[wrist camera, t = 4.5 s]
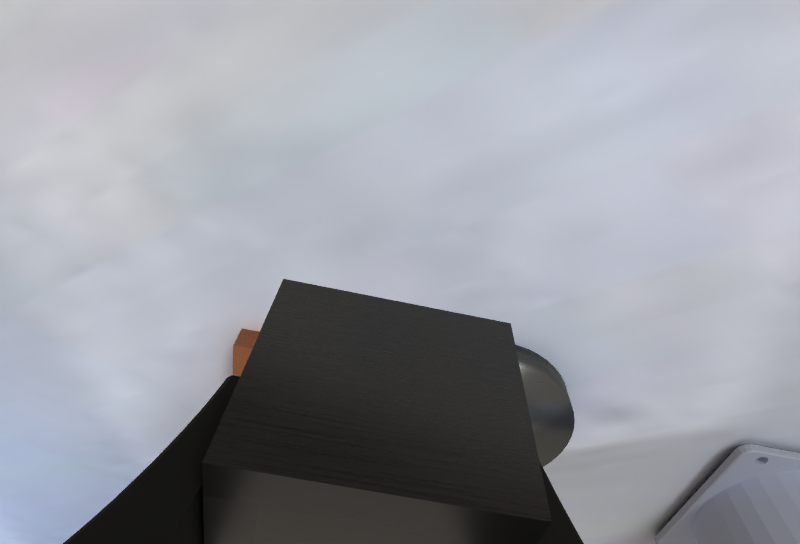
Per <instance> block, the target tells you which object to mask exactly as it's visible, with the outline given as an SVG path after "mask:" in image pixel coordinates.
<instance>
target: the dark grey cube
mask: <svg viewBox="0 0 800 544" xmlns="http://www.w3.org/2000/svg"><path fill="white" fill-rule="evenodd" d="M202 478H203V518H204V544H538V542H539V541H540V539H541V538H542V536H543V535H544V533H545V532H546V530H547V529H548V527H549V526H550V524H551V523H552V519H551V514H550V510H549V505H548V500H547V495H546V490H545V486H544V481H543V476H542V471H541V467H540V462H539V457H538V452H537V447H536V443H535V438H534V433H533V428H532V423H531V419H530V414H529V409H528V404H527V400H526V395H525V390H524V385H523V380H522V376H521V371H520V366H519V361H518V357H517V352H516V347H515V342H514V337H513V333H512V328H511V324H510V323H505V322H500V321H495V320H490V319H485V318H480V317H475V316H470V315H465V314H459V313H454V312H449V311H444V310H439V309H434V308H429V307H424V306H419V305H414V304H409V303H404V302H398V301H393V300H388V299H383V298H378V297H373V296H368V295H363V294H358V293H353V292H348V291H343V290H337V289H332V288H327V287H322V286H317V285H312V284H307V283H302V282H297V281H292V280H287V279H283V281H282V283H281V286H280V288H279V290H278V292H277V295H276V297H275V299H274V301H273V304H272V306H271V308H270V310H269V313H268V315H267V317H266V319H265V322H264V324H263V326H262V328H261V331H260V333H259V335H258V337H257V340H256V342H255V344H254V347H253V349H252V351H251V353H250V356H249V358H248V360H247V362H246V365H245V367H244V369H243V371H242V374H241V376H240V378H239V380H238V383H237V385H236V387H235V389H234V392H233V394H232V396H231V398H230V401H229V403H228V405H227V407H226V410H225V412H224V414H223V416H222V419H221V421H220V423H219V425H218V428H217V430H216V432H215V434H214V437H213V439H212V441H211V444H210V446H209V448H208V450H207V453H206V455H205V457H204V459H203V462H202Z"/></svg>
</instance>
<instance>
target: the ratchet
mask: <svg viewBox="0 0 800 544" xmlns="http://www.w3.org/2000/svg"><path fill="white" fill-rule="evenodd" d="M259 333H260V332H257V331H252V330H247V329H241V331H240V333H239V335H238V338H237V340H236V342H235V344H234V350H233V375H234V376H239V377H240V376H241V374H242V371H243V369H244V367H245V365H246V362H247V360H248V358H249V356H250V353H251V351H252V349H253V347H254V344H255V342H256V340H257V337H258V335H259ZM515 347H516V352H517V357H518V361H519V366H520V371H521V376H522V380H523V385H524V390H525V395H526V400H527V404H528V409H529V414H530V419H531V423H532V428H533V433H534V438H535V443H536V447H537V452H538V457H539V461H540V463H541V465H542V467H543V466H545V465H547V464H548V463H550V462H551V461H552V460H553V459H555V458H556V457H557V456H558V455H559V454H560V453H561V452H562V451H563V449H564V448H565V447H566V445H567V444H568V442H569V440H570V438H571V436H572V433H573V429H574V412H573V409H572V405H571V402H570V399H569V396H568V392H567V389H566V386H565V383H564V381H563V379H562V377H561V375H560V374H559V372H558V371H557V370H556V369H555V367H554V366H553V365H552V364H550V363H549V362H548V361H547V360H546V359H544V358H543V357H541V356H540V355H538V354H536V353H535V352H533V351H531V350H529V349H526V348H523V347H520V346H518V345H515Z"/></svg>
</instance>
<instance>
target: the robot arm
mask: <svg viewBox="0 0 800 544" xmlns="http://www.w3.org/2000/svg"><path fill="white" fill-rule="evenodd" d="M239 378H240V377H239V376H234V375H232V376H230V377H228V378H227V379H226V380H225V381H224V383H223V384H222V385H221V386H220V388H219V389H218V390H217V392H216V393H215V394H214V395H213V396H212V398H211V399H210V400H209V401H208V402H207V404H206V405H205V406H204V407H203V408H202V410H201V411H200V412H199V413H198V414H197V415H196V416H195V417H194V419H193V420H192V421H191V422H190V423H189V424H188V425H187V426H186V428H185V429H184V430H183V431H182V432H181V433H180V434H179V435H178V436H177V437H176V438H175V439H174V440H173V441H172V442H171V443H170V444H169V446H168V447H167V448H166V449H165V450H164V451H163V452H162V453H161V454H160V455H159V456H158V457H157V458H156V459H155V460H154V461H153V462H152V463H151V464H150V465H149V466H148V467H147V468H146V469H145V470H144V471H143V472H142V473H141V474H140V475H139V476H138V477H137V478H136V479H135V480H134V481H132V482H131V483H130V484H129V485H128V486H127V487H126V488H125V489H124V490H123V491H122V492H121V493H120V494H119V495H118V496H117V497H116V498H115V499H114V500H113V501H111V502H110V503H109V504H108V505H107V506H106V507H105V508H104V509H103V510H101V511H100V512H99V513H98V514H97V515H96V516H95V517H94V518H92V519H91V520H90V521H89V522H88V523H87V524H86V525H84V526H83V527H82V528H81V529H80V530H79V531H77V532H76V533H75V534H74V535H73V536H71V537H70V538H69V539H68V540H67V541H66V542H64V543H63V544H204V518H203V478H202V462H203V459H204V457H205V455H206V453H207V450H208V448H209V446H210V444H211V441H212V439H213V437H214V434H215V432H216V430H217V428H218V425H219V423H220V421H221V419H222V416H223V414H224V412H225V410H226V407H227V405H228V403H229V401H230V398H231V396H232V394H233V392H234V389H235V387H236V385H237V383H238V380H239ZM539 462H540V461H539ZM540 467H541V471H542V476H543V481H544V486H545V490H546V495H547V500H548V505H549V510H550V514H551V519H552V523H551V524H550V526H549V527H548V529H547V530H546V532H545V533H544V535H543V536H542V538H541V539H540V541H539V542H538V544H584V543H583V542H582V540H581V538H580V536H579V535H578V533H577V531H576V529H575V527H574V526H573V524H572V522H571V520H570V518H569V517H568V515H567V513H566V511H565V509H564V507H563V506H562V504H561V502H560V500H559V498H558V496H557V494H556V492H555V490H554V488H553V487H552V485H551V483H550V481H549V479H548V477H547V475H546V473H545V471H544V469H543V467H542V465H541V463H540ZM654 539H655V542H656V544H800V453H796V452H791V451H785V450H780V449H775V448H769V447H764V446H758V445H753V444H745V445H741V446H739V447H737V448H736V449H735V450H734V451H733V452H732V453H731V454H730V455H729V457H728V458H727V459H726V460H725V461H724V462H723V463H722V464H721V465H720V466H719V467H718V469H717V470H716V471H715V472H714V473H713V474H712V475H711V476H710V477H709V478H708V480H707V481H706V482H705V483H704V484H703V485H702V486H701V487H700V488H699V489H698V490H697V492H696V493H695V494H694V495H693V496H692V497H691V498H690V499H689V500H688V501H687V502H686V504H685V505H684V506H683V507H682V508H681V509H680V510H679V511H678V512H677V513H676V514H675V516H674V517H673V518H672V519H671V520H670V521H669V522H668V523H667V524H666V525H665V526H664V528H663V529H662V530H661V531H660V532H659V533H658V534H657V535H656V537H655V538H654Z"/></svg>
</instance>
